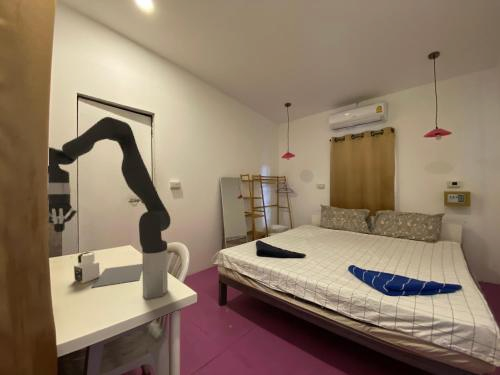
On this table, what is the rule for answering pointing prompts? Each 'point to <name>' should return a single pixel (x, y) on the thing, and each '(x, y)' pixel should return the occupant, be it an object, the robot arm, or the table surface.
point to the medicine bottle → (86, 268)
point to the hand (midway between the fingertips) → (59, 231)
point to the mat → (119, 275)
